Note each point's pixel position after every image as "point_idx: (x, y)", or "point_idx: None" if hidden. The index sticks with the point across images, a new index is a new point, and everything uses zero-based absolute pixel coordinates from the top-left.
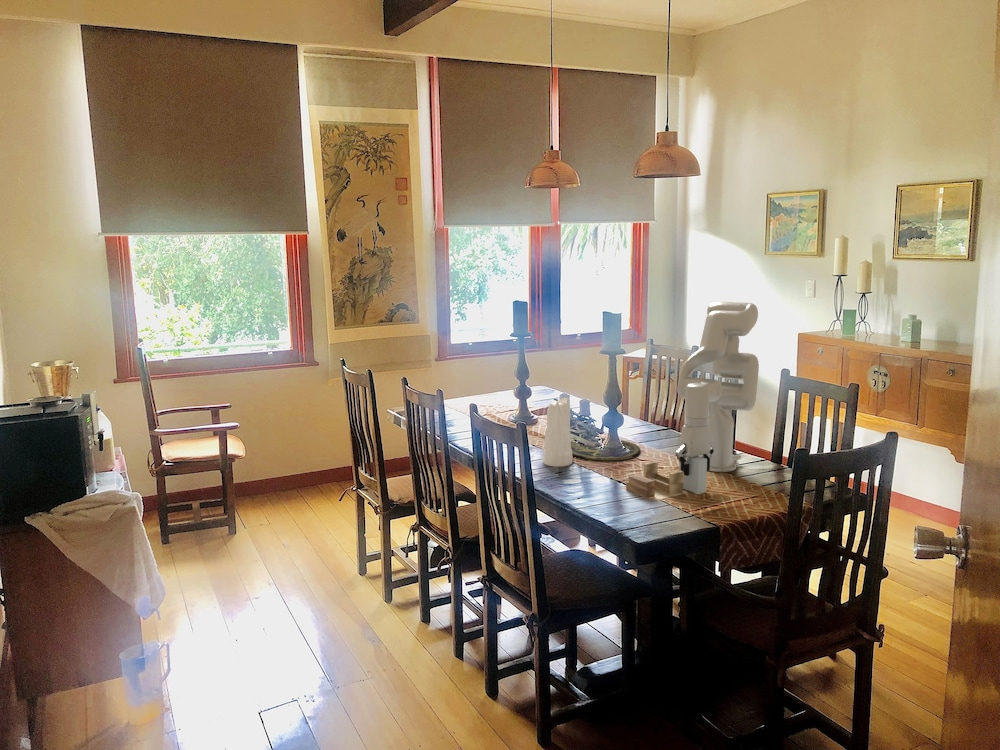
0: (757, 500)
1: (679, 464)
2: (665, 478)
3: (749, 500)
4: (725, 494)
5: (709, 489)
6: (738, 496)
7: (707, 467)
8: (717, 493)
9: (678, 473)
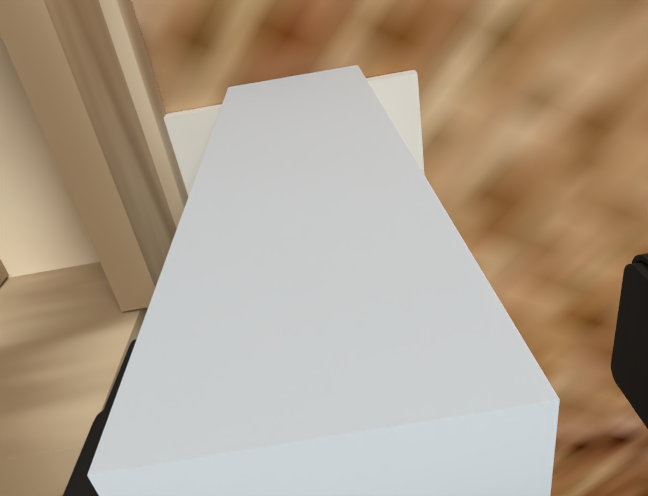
0: (638, 481)
1: (178, 245)
2: (4, 17)
3: (595, 470)
4: (561, 340)
5: (552, 189)
6: (605, 399)
7: (633, 401)
8: (524, 303)
9: (1, 494)
